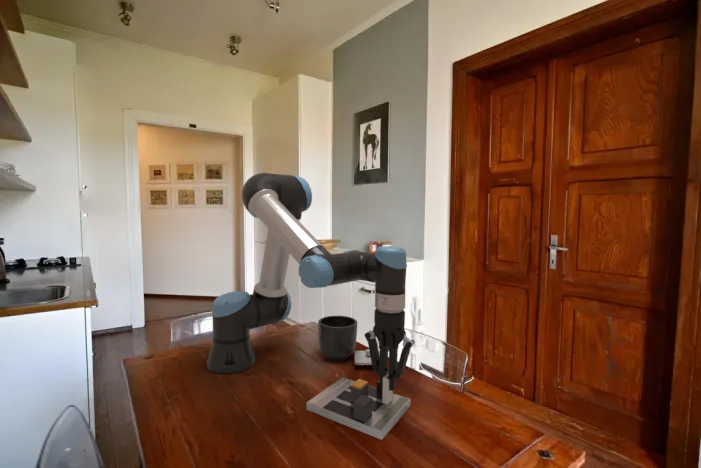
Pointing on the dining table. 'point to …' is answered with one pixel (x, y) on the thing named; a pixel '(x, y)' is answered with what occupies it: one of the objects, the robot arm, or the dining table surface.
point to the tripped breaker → (359, 389)
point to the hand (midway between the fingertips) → (387, 400)
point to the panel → (354, 423)
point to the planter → (337, 337)
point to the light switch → (363, 357)
